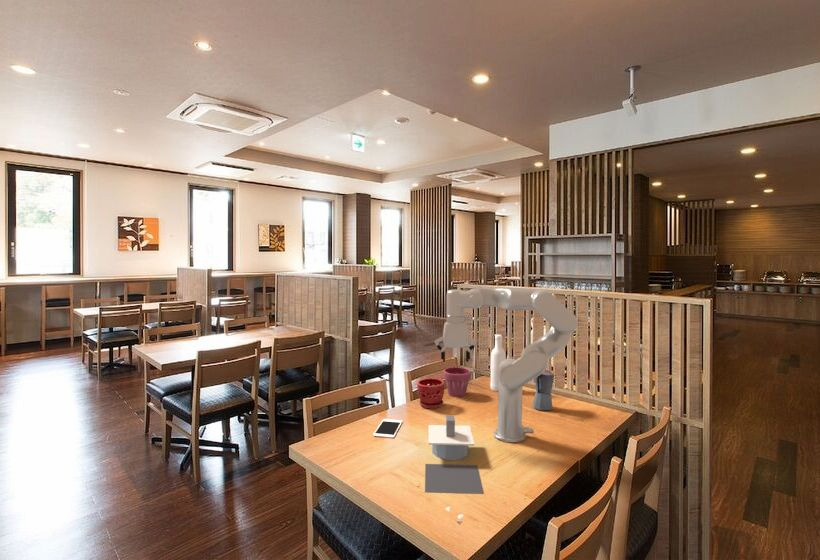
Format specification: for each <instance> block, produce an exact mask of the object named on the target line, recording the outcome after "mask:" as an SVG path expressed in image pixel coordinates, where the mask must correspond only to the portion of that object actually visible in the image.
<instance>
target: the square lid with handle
mask: <svg viewBox="0 0 820 560" xmlns="http://www.w3.org/2000/svg"><path fill="white" fill-rule="evenodd" d="M455 419H456V418H455V415H445V424H444V425H443V424H428V445H468V447H470V446H475V442H474V441H475V440H474V437H473V433H472V429H471V426H470V425H456V420H455Z"/></svg>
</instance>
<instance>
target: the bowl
mask: <svg viewBox="0 0 820 560" xmlns="http://www.w3.org/2000/svg"><path fill="white" fill-rule="evenodd" d="M432 454H433V455H434V456H435V457H437V458H439V459H442V460H447V461H456V460H460V459H464V458H465V457H466V456H468V454H469V445H432Z"/></svg>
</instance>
